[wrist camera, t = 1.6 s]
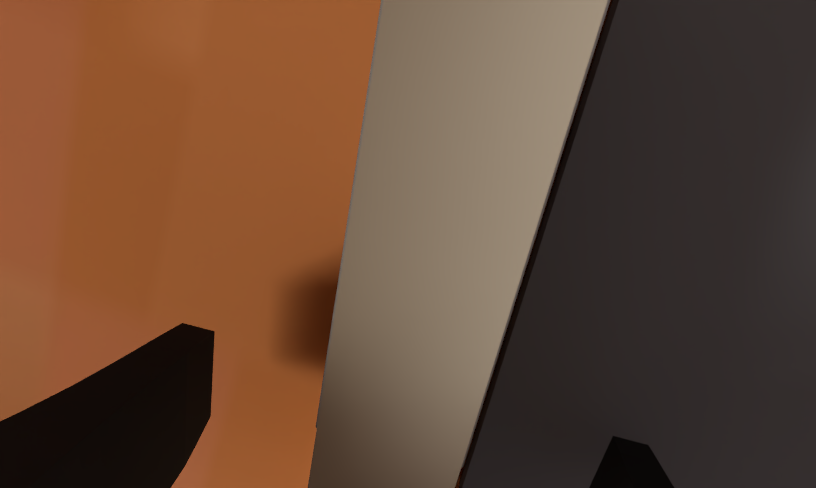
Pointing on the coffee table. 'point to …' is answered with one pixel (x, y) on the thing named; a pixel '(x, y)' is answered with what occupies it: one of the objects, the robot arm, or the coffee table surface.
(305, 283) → the coffee table surface
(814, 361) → the rubber mat
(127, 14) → the coffee table surface
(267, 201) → the coffee table surface
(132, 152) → the coffee table surface
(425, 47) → the beige bar
